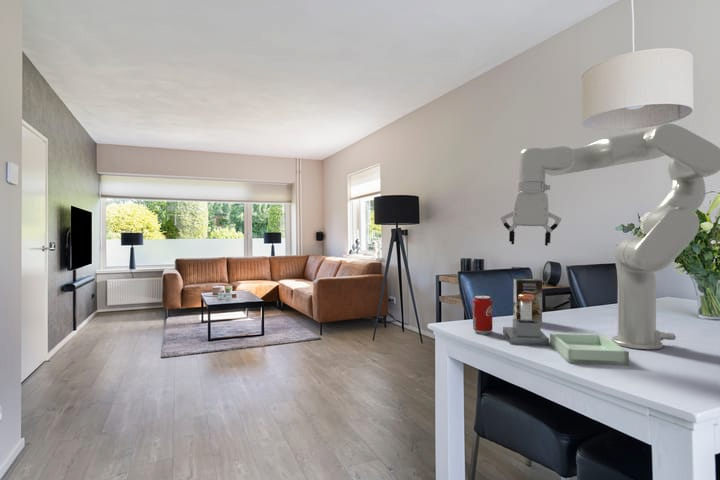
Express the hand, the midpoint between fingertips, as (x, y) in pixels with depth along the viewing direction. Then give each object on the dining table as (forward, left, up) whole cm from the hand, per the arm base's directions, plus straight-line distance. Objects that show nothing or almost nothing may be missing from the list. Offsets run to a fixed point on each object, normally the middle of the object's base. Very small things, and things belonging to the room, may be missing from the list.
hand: (529, 244), depth 130 cm
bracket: (+1, -3, -30) cm, 30 cm away
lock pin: (+1, 0, -28) cm, 28 cm away
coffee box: (-5, -28, -30) cm, 41 cm away
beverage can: (+13, -10, -30) cm, 34 cm away
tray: (-12, +13, -30) cm, 35 cm away
